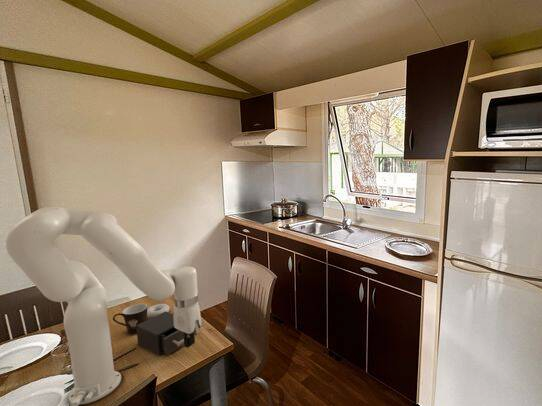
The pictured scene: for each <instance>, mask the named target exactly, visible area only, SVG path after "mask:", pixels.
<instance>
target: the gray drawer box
mask: <svg viewBox="0 0 542 406" xmlns="http://www.w3.org/2000/svg"><path fill="white" fill-rule="evenodd" d="M173 314H174V313H171V312H170V311H169V312H166V311H165V312H163V313H161V314H159V315H157V316H155V317H153V318H151V319H149V318H148V319H147V320H146V321H144V322H142V323H140V324H138V325H136V329H137V334H136V337H137V339H136V340H137V345H138V346H140V347H141V348H144V349H145V350H147V351H150V352H151V353H153V354H156V355H157V356H161V355H162V354H165V351H162V350H161V344H160V335H162V334H164V333H166V332H167V331H169V330H171V329H173V328H175V327H174V319H173Z"/></svg>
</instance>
